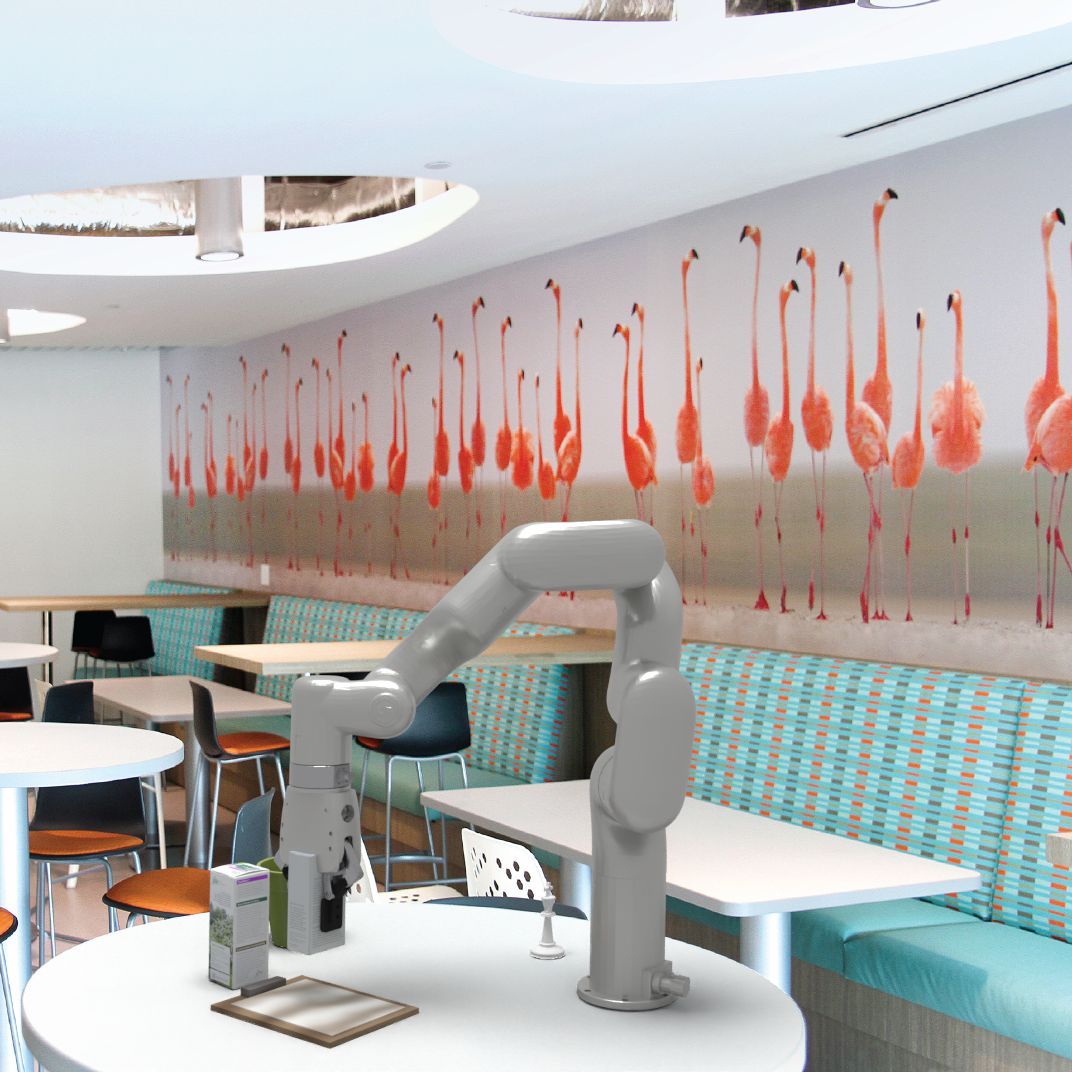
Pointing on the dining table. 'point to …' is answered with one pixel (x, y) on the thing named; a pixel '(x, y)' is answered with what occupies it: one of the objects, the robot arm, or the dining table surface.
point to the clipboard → (313, 1009)
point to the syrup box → (239, 924)
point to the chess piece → (547, 930)
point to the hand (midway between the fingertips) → (316, 924)
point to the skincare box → (308, 907)
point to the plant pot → (277, 902)
